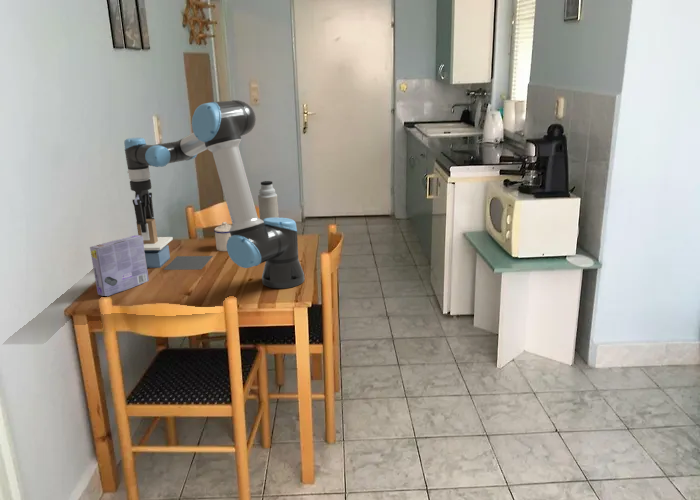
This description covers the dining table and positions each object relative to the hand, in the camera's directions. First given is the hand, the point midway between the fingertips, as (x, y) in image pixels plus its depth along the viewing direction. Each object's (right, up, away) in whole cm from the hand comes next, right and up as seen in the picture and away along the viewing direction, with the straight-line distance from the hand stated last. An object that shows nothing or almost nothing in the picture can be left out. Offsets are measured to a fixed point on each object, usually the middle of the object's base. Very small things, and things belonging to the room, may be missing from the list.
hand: (148, 238), depth 224 cm
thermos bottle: (+45, -3, +22) cm, 50 cm away
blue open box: (0, -10, +3) cm, 11 cm away
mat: (+15, -10, +3) cm, 18 cm away
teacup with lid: (+27, -4, +21) cm, 35 cm away
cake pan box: (-1, -18, -21) cm, 28 cm away
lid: (0, -3, +1) cm, 3 cm away
